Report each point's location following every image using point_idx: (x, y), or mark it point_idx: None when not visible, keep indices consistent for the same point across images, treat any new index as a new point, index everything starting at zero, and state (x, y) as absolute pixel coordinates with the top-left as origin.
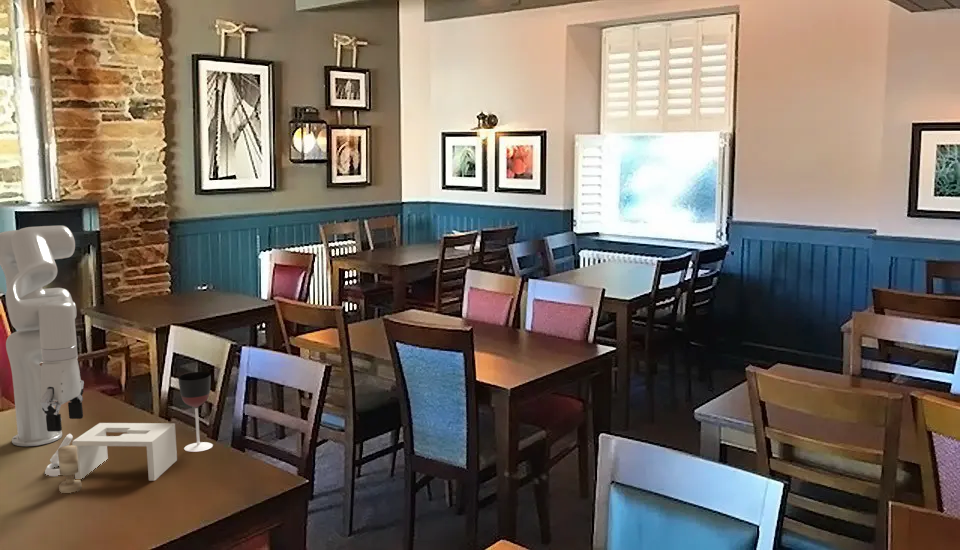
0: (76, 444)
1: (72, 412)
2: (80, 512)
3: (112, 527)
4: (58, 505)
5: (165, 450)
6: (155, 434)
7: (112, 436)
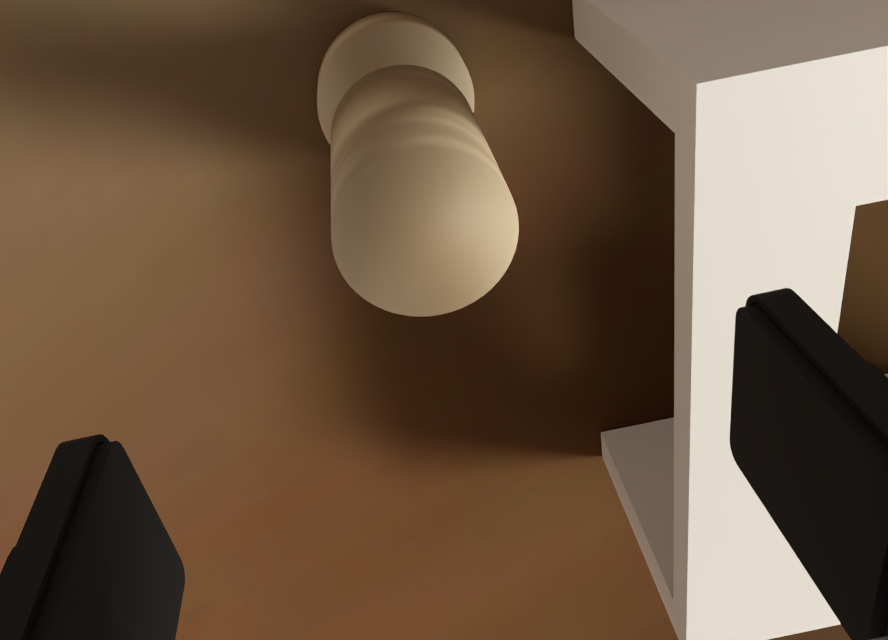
0: (681, 117)
1: (785, 414)
2: (115, 382)
3: None
4: (140, 197)
5: None
6: None
7: None
